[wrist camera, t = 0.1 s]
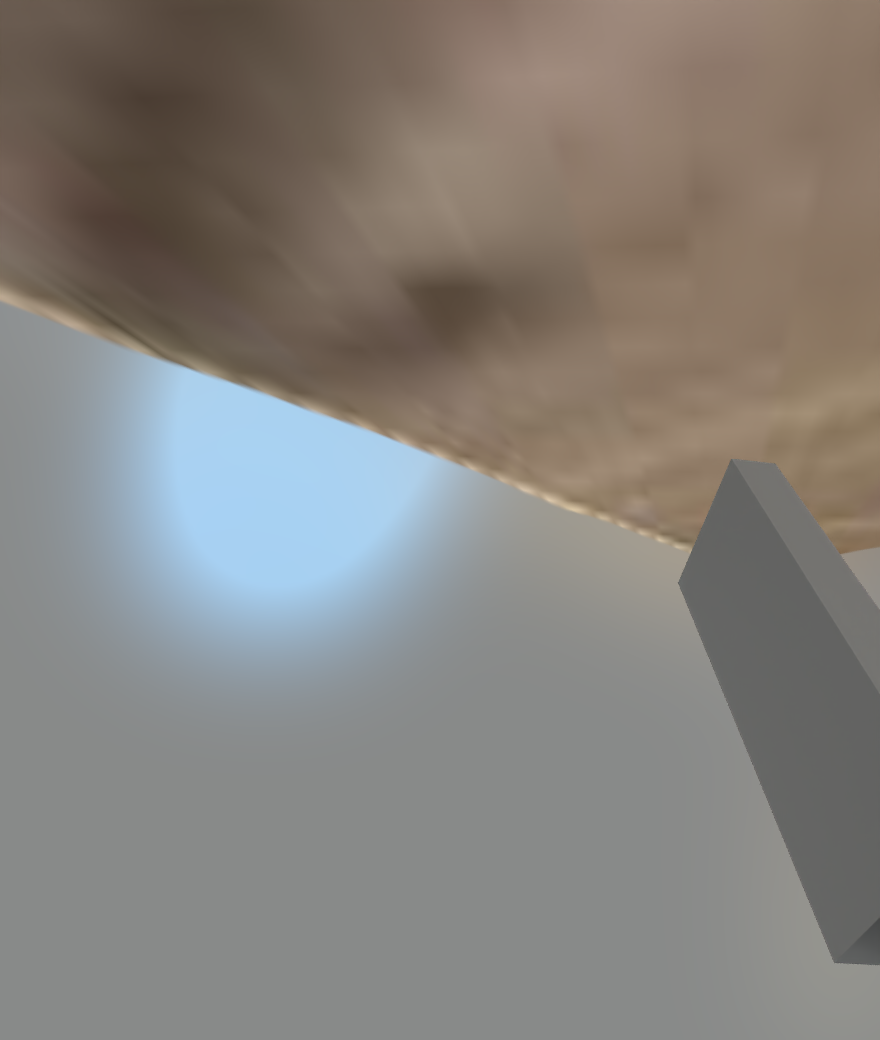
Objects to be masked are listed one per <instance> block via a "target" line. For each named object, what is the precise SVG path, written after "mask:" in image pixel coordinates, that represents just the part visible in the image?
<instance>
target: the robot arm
mask: <svg viewBox="0 0 880 1040" xmlns="http://www.w3.org/2000/svg"><path fill="white" fill-rule="evenodd" d="M678 584H679V586H680V589H681V591H682V593H683V596H684V598H685V601H686V603H687V606H688V608H689V611H690V613H691V616H692V618H693V620H694V623H695V625H696V628H697V630H698V632H699V635H700V637H701V640H702V642H703V645H704V647H705V650H706V652H707V654H708V657H709V659H710V662H711V664H712V667H713V669H714V671H715V674H716V676H717V679H718V681H719V684H720V686H721V689H722V691H723V693H724V696H725V698H726V701H727V703H728V706H729V708H730V710H731V713H732V715H733V717H734V720H735V723H736V725H737V727H738V730H739V732H740V735H741V737H742V739H743V742H744V744H745V747H746V749H747V752H748V754H749V757H750V759H751V762H752V764H753V766H754V769H755V771H756V774H757V776H758V779H759V781H760V783H761V786H762V788H763V791H764V793H765V795H766V798H767V800H768V803H769V805H770V808H771V810H772V813H773V815H774V818H775V820H776V822H777V825H778V827H779V830H780V832H781V835H782V837H783V839H784V842H785V844H786V847H787V849H788V852H789V854H790V856H791V859H792V861H793V864H794V866H795V869H796V871H797V873H798V876H799V878H800V881H801V883H802V886H803V888H804V891H805V893H806V895H807V898H808V900H809V903H810V905H811V907H812V910H813V912H814V915H815V917H816V920H817V922H818V925H819V927H820V929H821V932H822V934H823V937H824V939H825V942H826V944H827V947H828V949H829V951H830V954H831V956H832V959H833V961H834V963H849V964H867V965H880V610H879V608H878V607H877V606H876V604H875V603H874V601H873V600H872V598H871V597H870V596H869V595H868V593H867V592H866V590H865V589H864V587H863V586H862V584H861V583H860V582H859V580H858V579H857V577H856V576H855V575H854V573H853V572H852V570H851V569H850V568H849V566H848V565H847V563H846V562H845V561H844V559H843V558H842V556H841V555H840V554H839V552H838V551H837V549H836V548H835V547H834V545H833V544H832V542H831V541H830V540H829V538H828V537H827V535H826V534H825V533H824V531H823V530H822V528H821V527H820V526H819V524H818V523H817V521H816V520H815V519H814V517H813V516H812V514H811V513H810V512H809V510H808V509H807V507H806V506H805V505H804V503H803V502H802V500H801V499H800V498H799V496H798V495H797V493H796V492H795V491H794V489H793V488H792V486H791V485H790V484H789V482H788V481H787V479H786V478H785V477H784V475H783V474H782V472H781V471H780V470H779V468H778V467H777V465H776V464H775V463H766V462H757V461H748V460H739V459H731V461H730V463H729V465H728V468H727V470H726V472H725V475H724V477H723V479H722V482H721V484H720V486H719V489H718V491H717V493H716V496H715V498H714V500H713V503H712V505H711V507H710V510H709V512H708V514H707V517H706V519H705V521H704V524H703V526H702V528H701V531H700V533H699V535H698V538H697V540H696V542H695V545H694V547H693V549H692V552H691V554H690V556H689V559H688V561H687V563H686V566H685V568H684V570H683V573H682V575H681V577H680V580H679V582H678Z"/></svg>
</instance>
